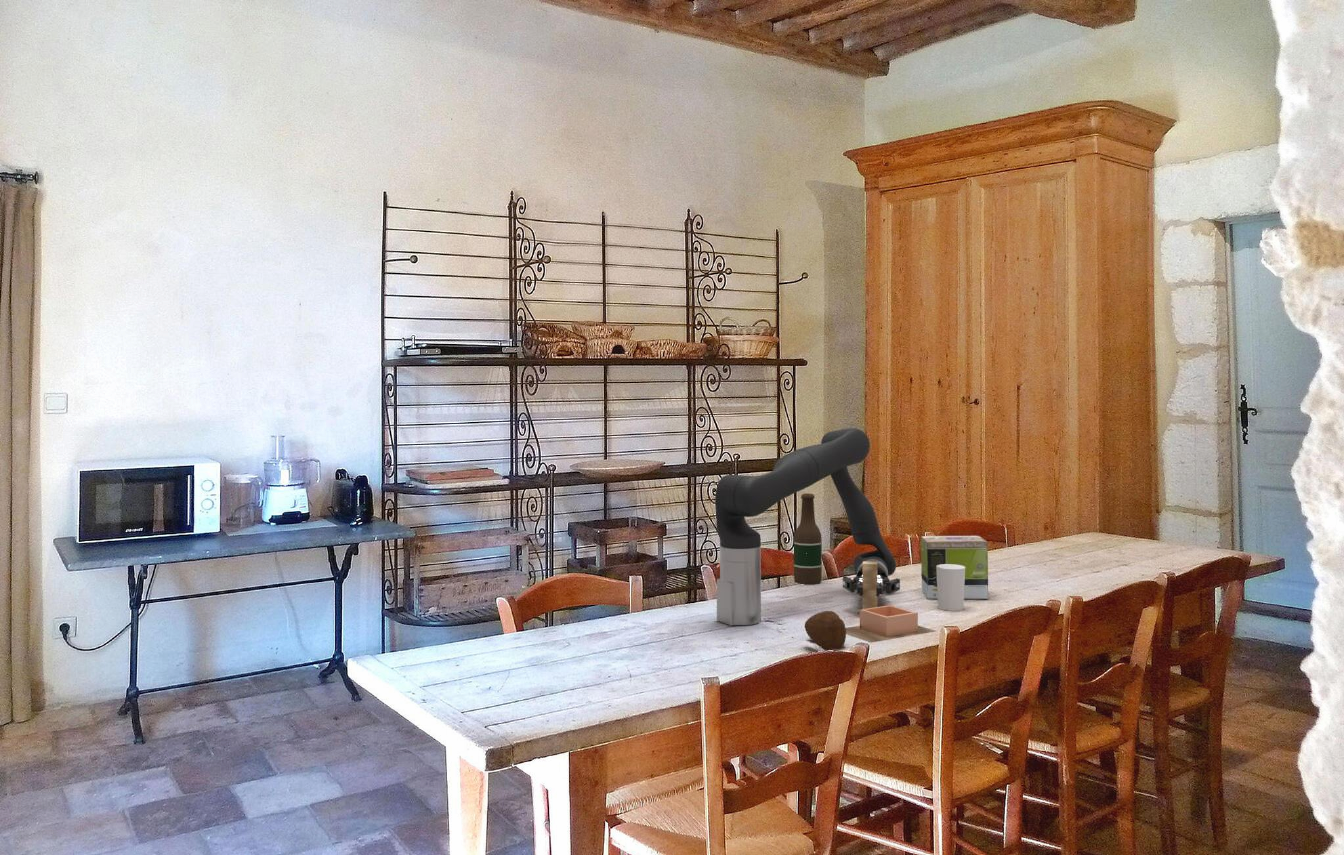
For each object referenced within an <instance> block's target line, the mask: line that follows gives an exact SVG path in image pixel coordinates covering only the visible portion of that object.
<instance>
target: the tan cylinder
mask: <svg viewBox="0 0 1344 855" xmlns="http://www.w3.org/2000/svg"><path fill="white" fill-rule="evenodd" d="M876 588H877V562H866V561H863V596H862V609H868V608H874V607H878V596H876Z"/></svg>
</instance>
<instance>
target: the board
mask: <svg viewBox="0 0 1344 855" xmlns="http://www.w3.org/2000/svg"><path fill="white" fill-rule="evenodd" d="M845 628H846V636H850V637H852V638H853V637H854V638H856V639H859V640H862V641H865V642H868V643H876V642H882V641H888V640H894V639H898V638H900V639H901V638H906V637H910V636H917V635H923V634H928V633H933V632H935V633H936V630H934V629H931V628H928V627H925V626H921V625H918V632H912V633H906V634H900V635H894V636H889V637H886V636H883V635H879V634H876V633H873V632H870V631H867V630H864V629H861V628H860V625H855V626H848V627H845Z"/></svg>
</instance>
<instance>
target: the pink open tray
mask: <svg viewBox="0 0 1344 855" xmlns="http://www.w3.org/2000/svg"><path fill="white" fill-rule="evenodd" d="M918 619H919V612H916V611H913V610H909V609H905V608H903V607H898V606H894V605H892V604H891V605H890V604H889V605H882V606H877V607H874V608H868V609H863V608H862V609H859V626H860V628H861V629H864V630H867V631H870V632H873V633H876V634H879V635H883V636H886V637H889V636H894V635H900V634H906V633H912V632H918V626H919V621H918Z"/></svg>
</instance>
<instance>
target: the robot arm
mask: <svg viewBox="0 0 1344 855" xmlns="http://www.w3.org/2000/svg"><path fill="white" fill-rule="evenodd" d="M870 442H871V441H870V439H869V437H868V435H867V434H866V433H865V432H864V431H863V430H861V429H859V428H857V427H856V428H855V427H849V428H843V429H838V430H833V431H829V432H827V433H825V434H824V435H823V436H822V438H821V441H820V443H819V444H813V445H808V446H806V447H802V448H799V449H795V450H793V451H791V452H789V453H787V454H785V455H783V456H781V457H780V458H779V459H778V460H777V461H776V462H775V464H774V466H773V469H772V471H770V472H767V473H763V474H761V475H745V474H743V475H741V474H728V475H724V476H723V477H721V478H720V480H718V483H717V486H716V488H715V489H716V490H715V494H714V503H715V519H716V520H715V522H716V524H715V525H716V532H717V535H718V538H719V565H720V566H719V576H720V578H717V579H716V621H718V622H721V623H724V624H726V625H728V626H750V625H755V624H759V623H761V621H762V573H761V572H762V571H761V570H762V568H761V566H762V564H761V561H762V560H761V559H762V556H761V555H762V549H761V548H762V547H761V545H762V541H761V534H760V533H759V532H758V531H757V530H755V529H753V527H751V526H750V525H749V523H747V521H746V518H752V517H757V516H760V515H762V514H763V513H765V512H767V510H769V509H771V507H774V505H776V504H777V503H779V502H780V501H782V500H784V499H785V498H788V497H790V496H792V495H794V494H796V493H798V492H800V491H803V490H804V489H806V488H808V487H811V486H813V485H814V484H816V483H818V482H819V481H821V480H823V479H825V478H827V477H829V476H830V477H831V479H832V482H833V484H834V486H835V489H836V490H837V494H838V496H839V497H840V500H841V502H842V504H843V507H844V510H845V513H846V515H847V520H848V524H849V527H850V532H851V535H852V539H853V541H854V543H855V544H856V545H860V546H872V547H874V548H875V549H876V550H871V551H867V552H861V553H859V554H857V555H856V556H855V557H854V558H853V570H854V572H855V574H856V576H854V577H853V579H852V577H848V576H846V575H845V576H843V577H842V588H843V589H845V590H846V591H848V592H850V593H855V592H856V594H858V595H859V596H861V597H863V561H866V562H877V588H876V596H877V597H880V596H881V595H882V596H883V594H884V592H885V593H886V594H888V595H890V594H891V595H892V594H894V593H895V592H898V591H900V590H901V579H900V578H894V579H893V578H892V579H889V576H892V575H894V573H895V572H896V569H897V562H896V559H895V557H894V556H893V553H892V552H891V550H890V549H889V547H888V545H887V543H886V542H885V540H884V538H883V536H882V533H881V530H880V527H879V524H878V519H877V516H876V512H875V509H874V507H873V505H872V504H871V502H870V500H869V499H868V498H867V497H866V495H865V494H864V493H863V492H862V490H861V489H860V488H859V487H858V486H857V485H856V483H855V482H854V480H853V478H852V477H851V475H850V471H849V470H848V467H850V466H852V465H858V464H861V463H862V462H863V461H864V460H866V458H867V457H868V455H869V454H870V453H869V452H870V450H871V443H870ZM745 517H746V518H745Z"/></svg>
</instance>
